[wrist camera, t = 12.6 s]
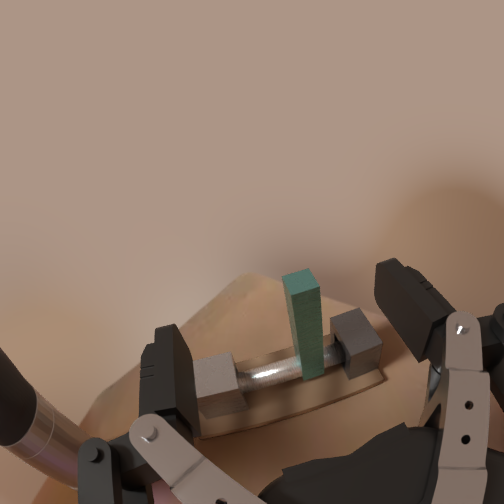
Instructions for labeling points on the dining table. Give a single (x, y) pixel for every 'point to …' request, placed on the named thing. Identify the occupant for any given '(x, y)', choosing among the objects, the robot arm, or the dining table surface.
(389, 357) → the dining table surface
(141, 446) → the robot arm
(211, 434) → the walnut board
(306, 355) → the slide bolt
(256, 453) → the dining table surface
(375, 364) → the sleeve and socket
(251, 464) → the dining table surface
